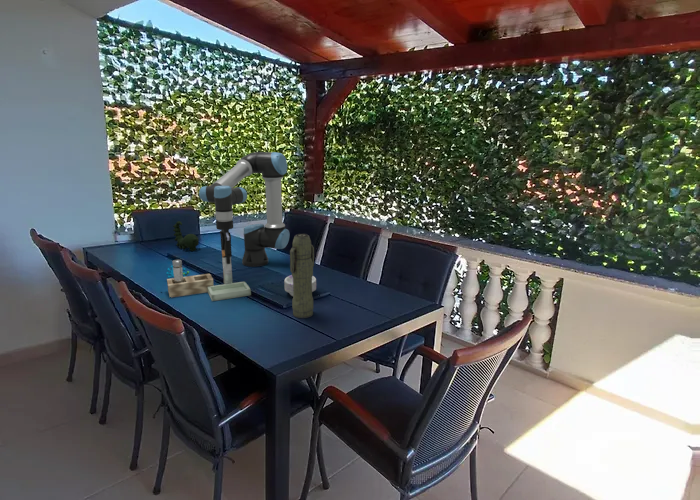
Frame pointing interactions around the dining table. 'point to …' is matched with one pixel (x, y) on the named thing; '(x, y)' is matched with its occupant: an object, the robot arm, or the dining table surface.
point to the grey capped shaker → (178, 271)
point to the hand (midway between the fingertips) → (227, 268)
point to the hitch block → (190, 285)
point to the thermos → (302, 275)
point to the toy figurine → (185, 238)
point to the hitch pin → (226, 274)
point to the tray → (228, 291)
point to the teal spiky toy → (173, 272)
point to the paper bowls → (289, 284)
